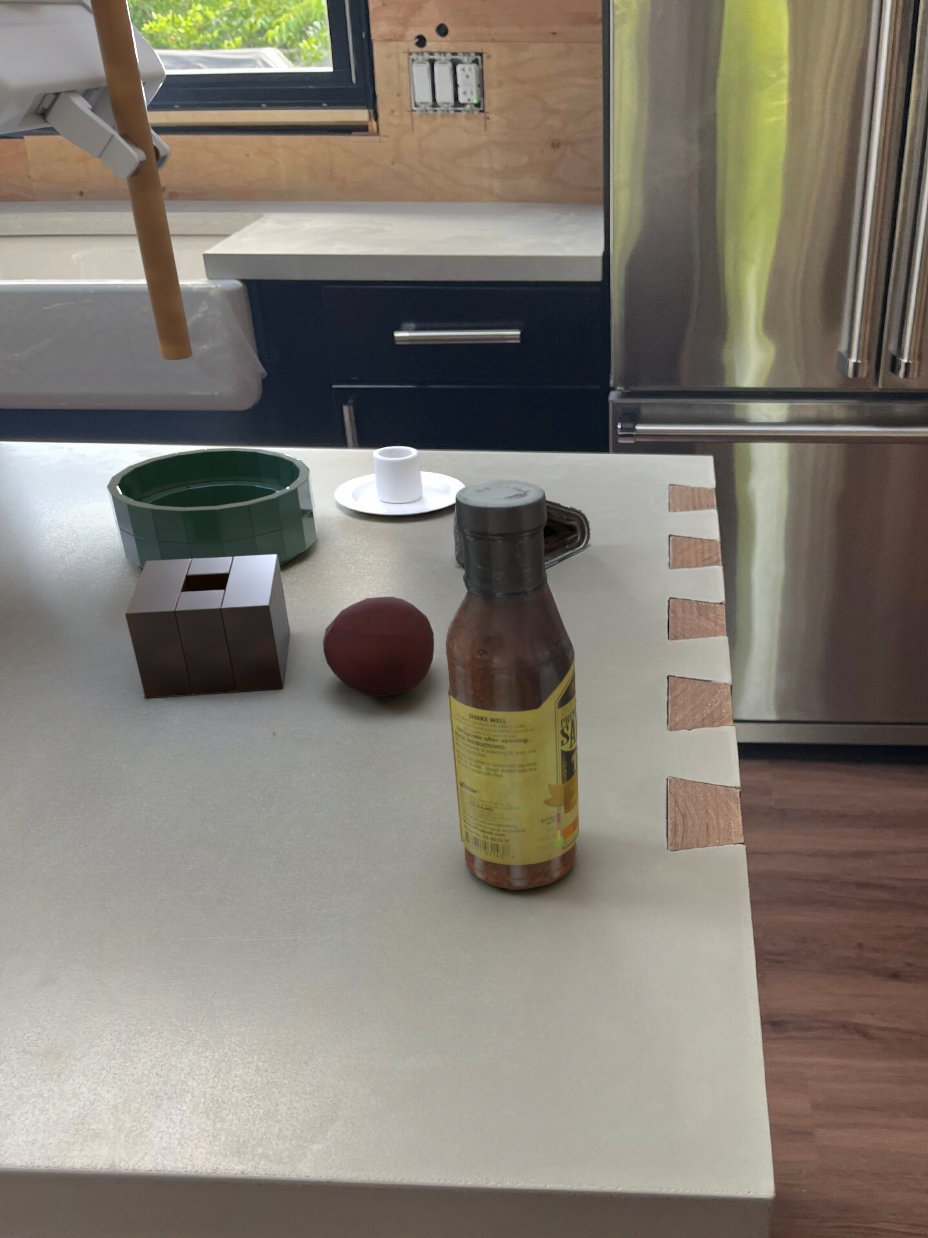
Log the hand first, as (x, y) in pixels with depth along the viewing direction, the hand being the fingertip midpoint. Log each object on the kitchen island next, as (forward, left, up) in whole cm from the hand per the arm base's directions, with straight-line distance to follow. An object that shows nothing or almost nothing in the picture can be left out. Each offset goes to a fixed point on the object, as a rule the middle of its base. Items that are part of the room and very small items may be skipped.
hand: (149, 166), depth 73 cm
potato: (+11, -15, -29) cm, 35 cm away
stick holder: (0, -10, -29) cm, 31 cm away
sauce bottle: (+18, -36, -29) cm, 50 cm away
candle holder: (+13, +22, -29) cm, 39 cm away
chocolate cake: (+22, +7, -29) cm, 37 cm away
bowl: (-2, +12, -29) cm, 32 cm away
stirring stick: (-1, 0, -11) cm, 11 cm away
